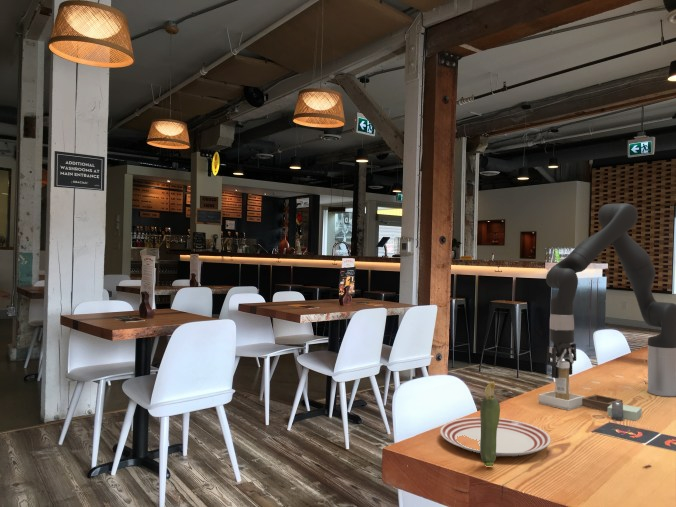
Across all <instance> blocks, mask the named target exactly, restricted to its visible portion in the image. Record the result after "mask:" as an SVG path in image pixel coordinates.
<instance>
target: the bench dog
mask: <svg viewBox="0 0 676 507" xmlns="http://www.w3.org/2000/svg"><path fill="white" fill-rule="evenodd" d="M623 405H624V402H623V401H622V402H618V401H613V402H612V417H611V419H612V420H614V421H619V422H620V421H621V422H622V421H624V419H623Z"/></svg>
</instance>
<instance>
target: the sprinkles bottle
mask: <svg viewBox="0 0 676 507" xmlns="http://www.w3.org/2000/svg"><path fill="white" fill-rule="evenodd" d="M556 362H557V361H556ZM558 367H559V378H554V390H555V398H560V399H564V400H569V393H570V375H569V368H570V363H569V362H567V361H565V360H562V361H561V362H560V364H559V366H558Z"/></svg>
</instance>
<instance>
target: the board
mask: <svg viewBox="0 0 676 507" xmlns="http://www.w3.org/2000/svg"><path fill="white" fill-rule="evenodd" d="M642 408H643V407H640V406H634V405H628V404H623V420H628V421H634V422H637V421H638V420H639V419H641V418H642V416H643V413H642ZM607 417H610V418H612V404H611V405H610V406H609V407H608V412H607Z"/></svg>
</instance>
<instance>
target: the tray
mask: <svg viewBox="0 0 676 507" xmlns="http://www.w3.org/2000/svg"><path fill="white" fill-rule="evenodd" d="M585 397H586V396H585V395H579V394H576V393H571V392H569V400H564V399H560V398H555V389H554V390H551V391H547V392H542V393H540V394H538V404H539V405H544V406H548V407H551V408H556V409H561V410H563V411H564V410H565V411H572V410H574V409H578V408H580V407H583V406H582V398H585Z"/></svg>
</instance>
